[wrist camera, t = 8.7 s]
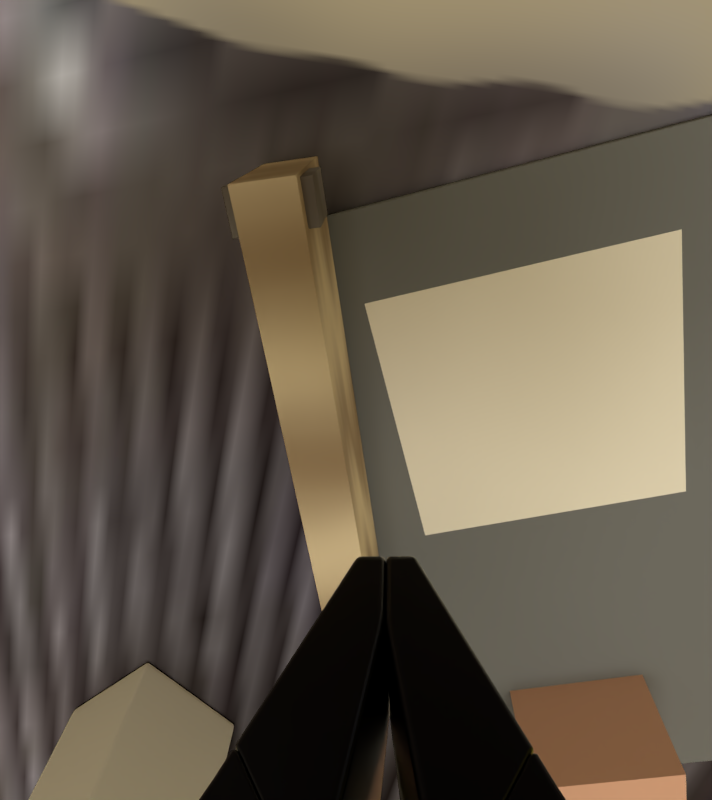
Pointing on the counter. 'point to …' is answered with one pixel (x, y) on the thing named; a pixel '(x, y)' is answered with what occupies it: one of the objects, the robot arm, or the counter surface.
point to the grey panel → (549, 410)
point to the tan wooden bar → (306, 357)
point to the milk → (137, 744)
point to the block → (601, 740)
